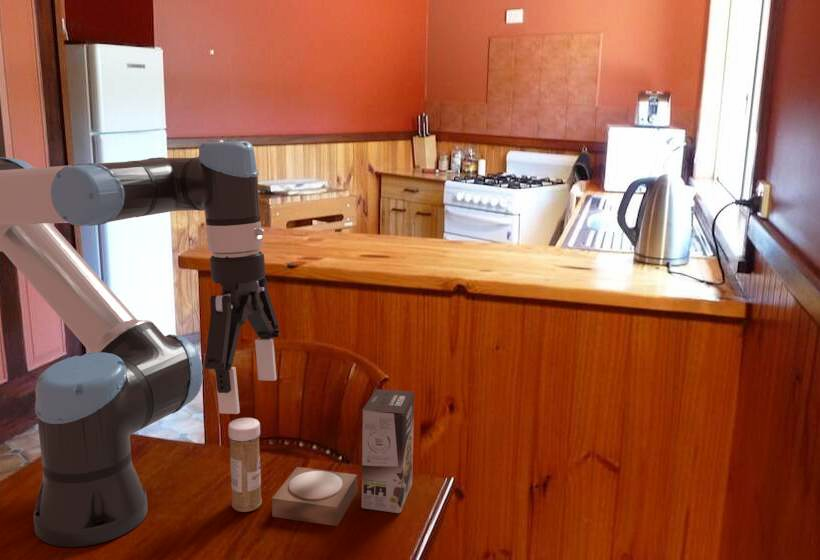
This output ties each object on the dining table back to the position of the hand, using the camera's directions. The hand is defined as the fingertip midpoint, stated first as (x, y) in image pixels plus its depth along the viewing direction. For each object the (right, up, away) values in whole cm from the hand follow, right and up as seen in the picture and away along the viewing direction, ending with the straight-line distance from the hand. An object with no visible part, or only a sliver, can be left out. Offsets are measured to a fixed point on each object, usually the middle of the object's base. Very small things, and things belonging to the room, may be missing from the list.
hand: (249, 395), depth 108 cm
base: (+9, -17, +4) cm, 20 cm away
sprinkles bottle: (-1, -17, +4) cm, 18 cm away
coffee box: (+20, -17, +7) cm, 27 cm away
